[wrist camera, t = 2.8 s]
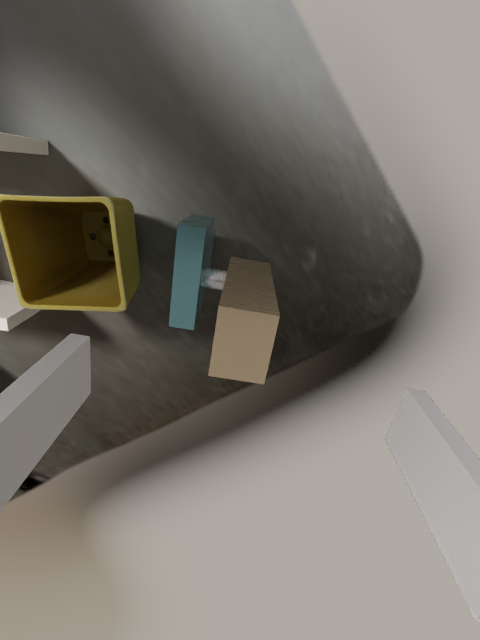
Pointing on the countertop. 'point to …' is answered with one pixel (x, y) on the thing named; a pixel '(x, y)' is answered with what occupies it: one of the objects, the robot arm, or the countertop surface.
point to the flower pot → (71, 251)
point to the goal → (3, 302)
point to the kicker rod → (225, 303)
